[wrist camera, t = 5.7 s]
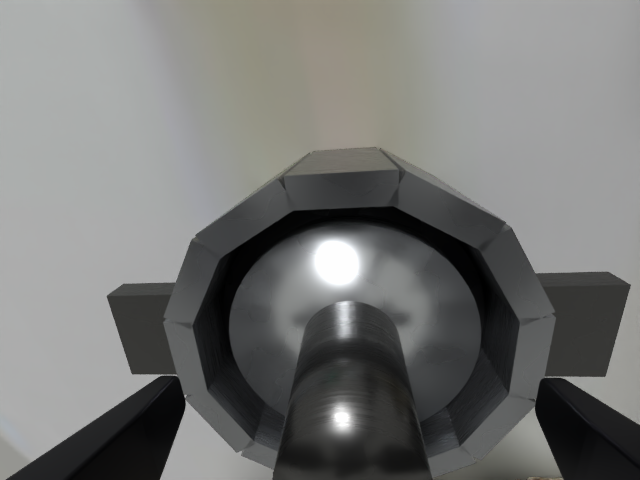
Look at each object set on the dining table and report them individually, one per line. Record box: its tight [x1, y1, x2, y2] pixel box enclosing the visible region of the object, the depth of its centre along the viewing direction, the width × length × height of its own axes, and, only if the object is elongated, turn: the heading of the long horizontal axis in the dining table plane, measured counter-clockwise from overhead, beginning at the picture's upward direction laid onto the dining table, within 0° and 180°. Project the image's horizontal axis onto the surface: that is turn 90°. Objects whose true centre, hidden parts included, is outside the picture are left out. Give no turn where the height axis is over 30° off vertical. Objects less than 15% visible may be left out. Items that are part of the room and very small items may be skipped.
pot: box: [107, 147, 631, 478], centre depth 12 cm, size 15×10×6 cm
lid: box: [229, 214, 481, 480], centre depth 8 cm, size 7×7×5 cm
